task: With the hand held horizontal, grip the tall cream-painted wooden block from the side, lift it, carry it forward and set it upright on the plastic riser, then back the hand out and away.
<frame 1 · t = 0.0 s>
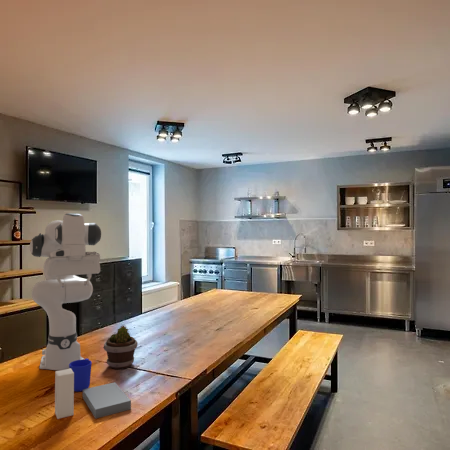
hand: (74, 286, 152), 39 cm above the table, tool pointing down, fingers open, 8 cm apart
riser: (106, 403, 134), on the table
mug: (81, 387, 148), on the table
flowerpot: (120, 365, 171), on the table
block: (64, 413, 127), on the table
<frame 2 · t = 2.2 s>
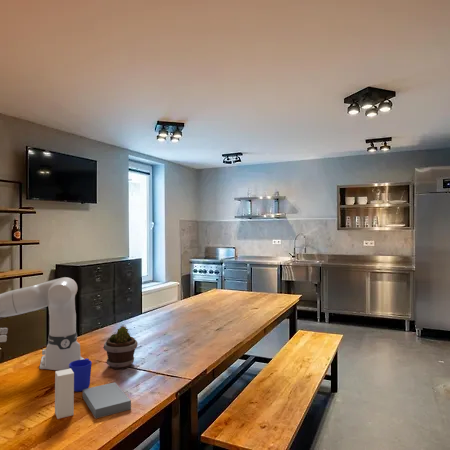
hand: (7, 334, 120), 29 cm above the table, tool horizontal, fingers open, 8 cm apart
nothing on the table moved.
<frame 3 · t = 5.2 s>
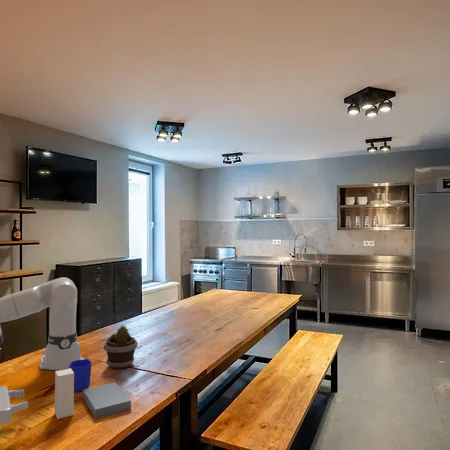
hand: (25, 398, 120), 8 cm above the table, tool horizontal, fingers open, 8 cm apart
nothing on the table moved.
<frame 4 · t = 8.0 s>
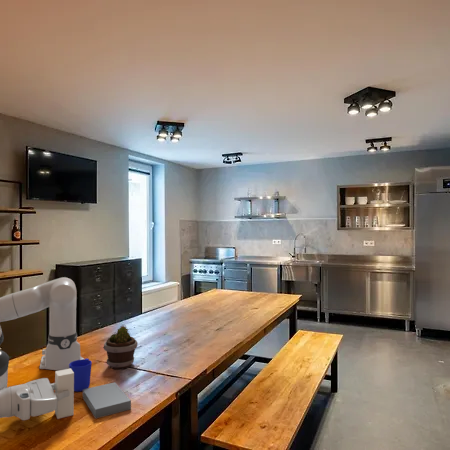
hand: (67, 389, 127), 8 cm above the table, tool horizontal, fingers closed on block, 5 cm apart
block: (64, 413, 127), on the table, touching gripper
everything else where it was.
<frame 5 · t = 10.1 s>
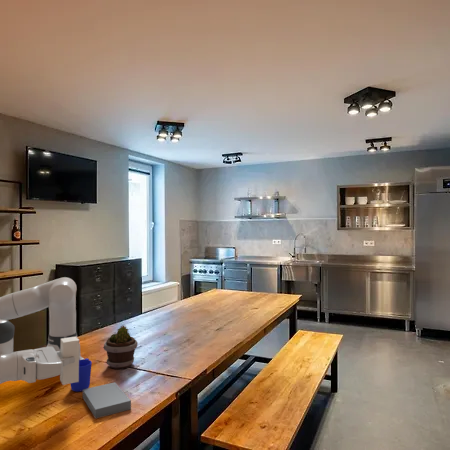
hand: (72, 356, 128), 19 cm above the table, tool horizontal, fingers closed on block, 5 cm apart
block: (69, 380, 127), point 11 cm above the table, touching gripper
everything else where it was.
when the fingers open (12 cm above the table, at t = 12.6 s): block drops 1 cm, resting on riser.
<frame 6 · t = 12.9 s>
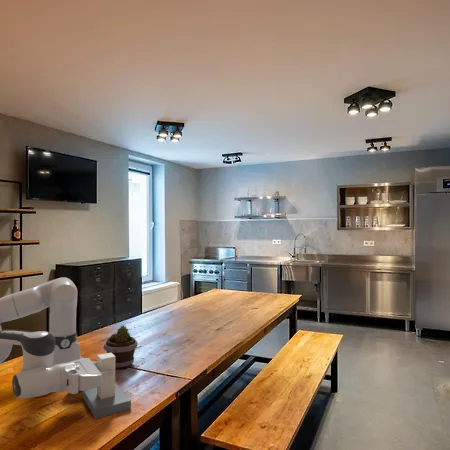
hand: (108, 367, 135), 12 cm above the table, tool horizontal, fingers open, 7 cm apart
block: (105, 394, 134), point 3 cm above the table, touching riser
everything else where it was.
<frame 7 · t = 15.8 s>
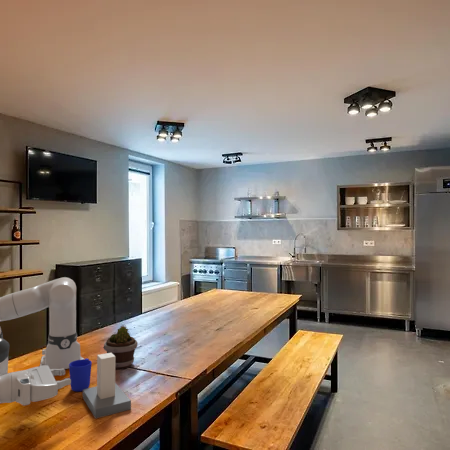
hand: (67, 376, 127), 12 cm above the table, tool horizontal, fingers open, 8 cm apart
nothing on the table moved.
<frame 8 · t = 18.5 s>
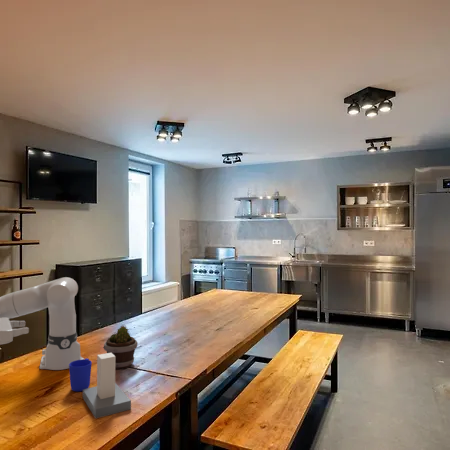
hand: (26, 326, 124), 30 cm above the table, tool horizontal, fingers open, 8 cm apart
nothing on the table moved.
at the end: block inside the target area on the riser (0.1 cm from its centre), point 3.0 cm above the riser's base; block tilted 0°; the gripper is holding nothing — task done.
